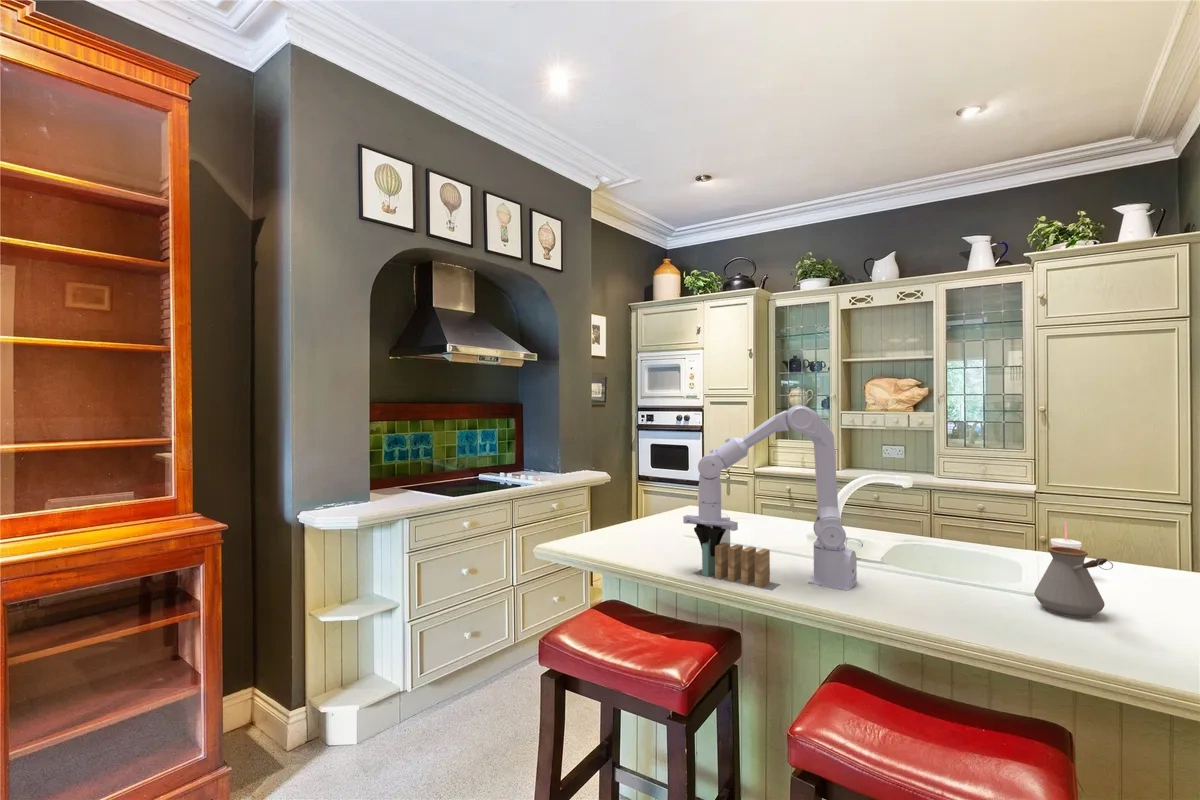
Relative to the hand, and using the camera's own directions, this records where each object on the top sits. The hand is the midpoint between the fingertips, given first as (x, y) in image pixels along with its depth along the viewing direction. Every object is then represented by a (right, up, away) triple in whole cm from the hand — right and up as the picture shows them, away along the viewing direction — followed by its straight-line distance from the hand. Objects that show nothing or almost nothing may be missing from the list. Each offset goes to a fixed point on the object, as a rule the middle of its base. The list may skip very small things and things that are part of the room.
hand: (709, 554), depth 147 cm
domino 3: (+8, -5, -7) cm, 12 cm away
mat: (+6, -5, -4) cm, 9 cm away
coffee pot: (+69, -5, -31) cm, 76 cm away
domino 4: (+11, -5, -9) cm, 15 cm away
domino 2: (+6, -5, -4) cm, 9 cm away
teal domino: (0, -5, 0) cm, 5 cm away
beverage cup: (+89, -5, -3) cm, 89 cm away
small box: (+7, -5, +25) cm, 26 cm away
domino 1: (+3, -5, -2) cm, 6 cm away
